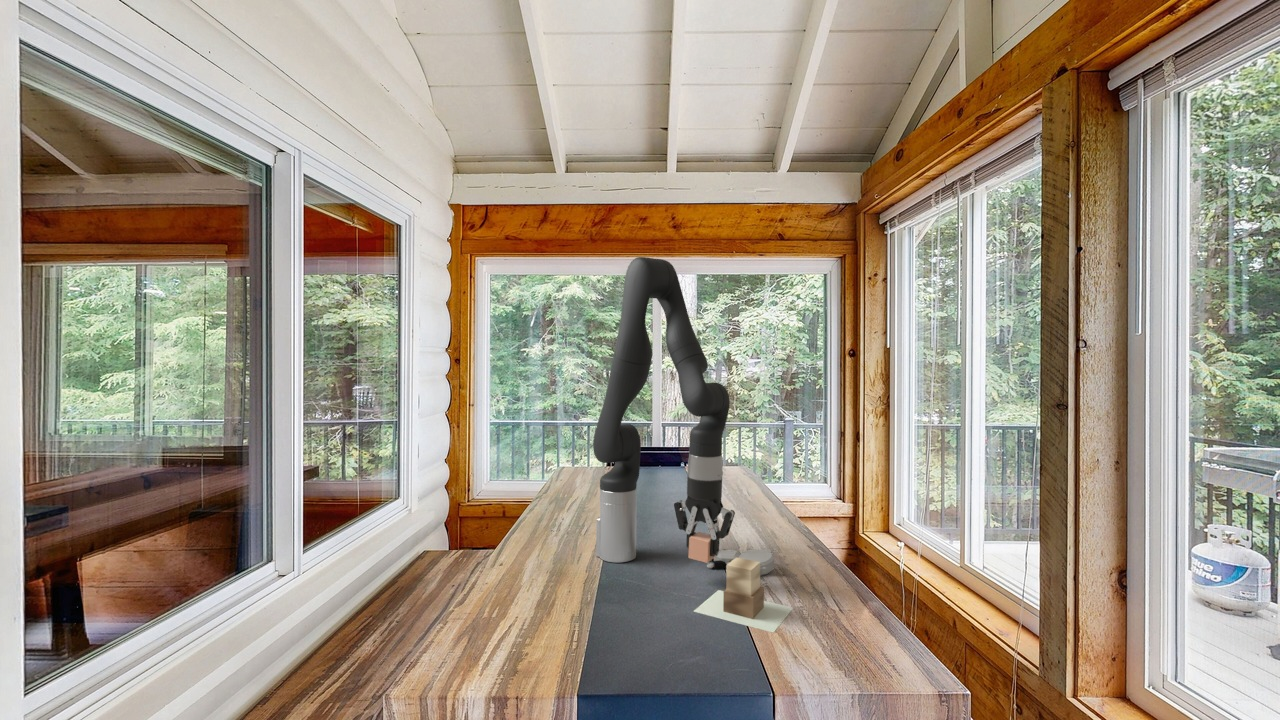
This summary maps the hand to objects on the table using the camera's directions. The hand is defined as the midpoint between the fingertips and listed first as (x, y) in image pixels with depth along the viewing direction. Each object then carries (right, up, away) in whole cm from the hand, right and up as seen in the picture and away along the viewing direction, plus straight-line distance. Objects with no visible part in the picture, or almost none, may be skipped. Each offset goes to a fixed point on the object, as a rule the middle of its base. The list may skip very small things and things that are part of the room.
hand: (702, 552), depth 126 cm
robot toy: (+11, -8, +11) cm, 17 cm away
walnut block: (+7, -7, -13) cm, 16 cm away
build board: (+7, -8, -13) cm, 17 cm away
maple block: (+7, -3, -13) cm, 15 cm away
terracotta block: (0, -1, 0) cm, 1 cm away
